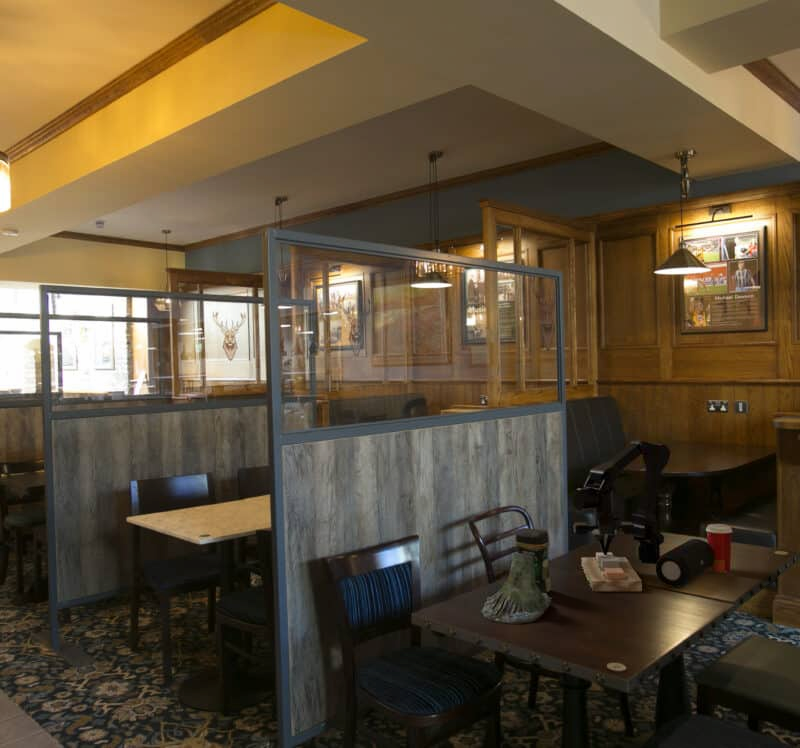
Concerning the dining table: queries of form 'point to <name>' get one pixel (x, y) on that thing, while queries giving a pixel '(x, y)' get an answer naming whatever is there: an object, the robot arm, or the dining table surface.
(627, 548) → the dining table surface
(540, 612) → the tree stump
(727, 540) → the paper cup
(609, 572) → the brown cube
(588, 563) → the beige flat board
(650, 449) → the robot arm
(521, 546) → the coffee jar
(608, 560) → the grey cube
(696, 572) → the portable speaker
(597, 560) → the beige cube
